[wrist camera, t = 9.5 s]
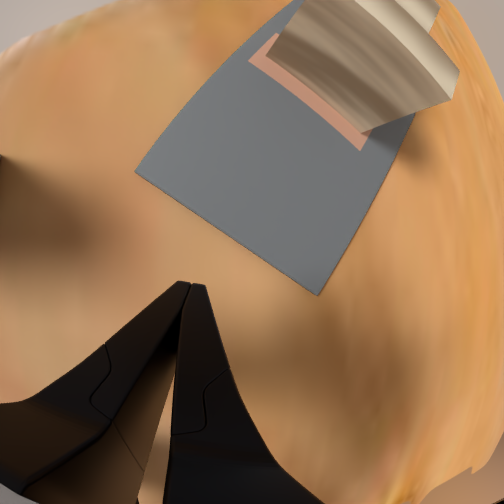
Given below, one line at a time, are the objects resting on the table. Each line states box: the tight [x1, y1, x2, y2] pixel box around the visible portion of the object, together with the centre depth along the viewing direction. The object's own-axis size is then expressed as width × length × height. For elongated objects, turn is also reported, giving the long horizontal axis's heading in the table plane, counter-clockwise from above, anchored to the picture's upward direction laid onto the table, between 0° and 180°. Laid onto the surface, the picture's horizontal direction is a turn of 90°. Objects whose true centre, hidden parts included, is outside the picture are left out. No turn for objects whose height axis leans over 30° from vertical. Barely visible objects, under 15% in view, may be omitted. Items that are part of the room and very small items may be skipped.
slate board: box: [135, 0, 416, 295], centre depth 21 cm, size 24×16×1 cm, turn 145°
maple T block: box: [265, 0, 460, 133], centre depth 17 cm, size 9×10×10 cm
